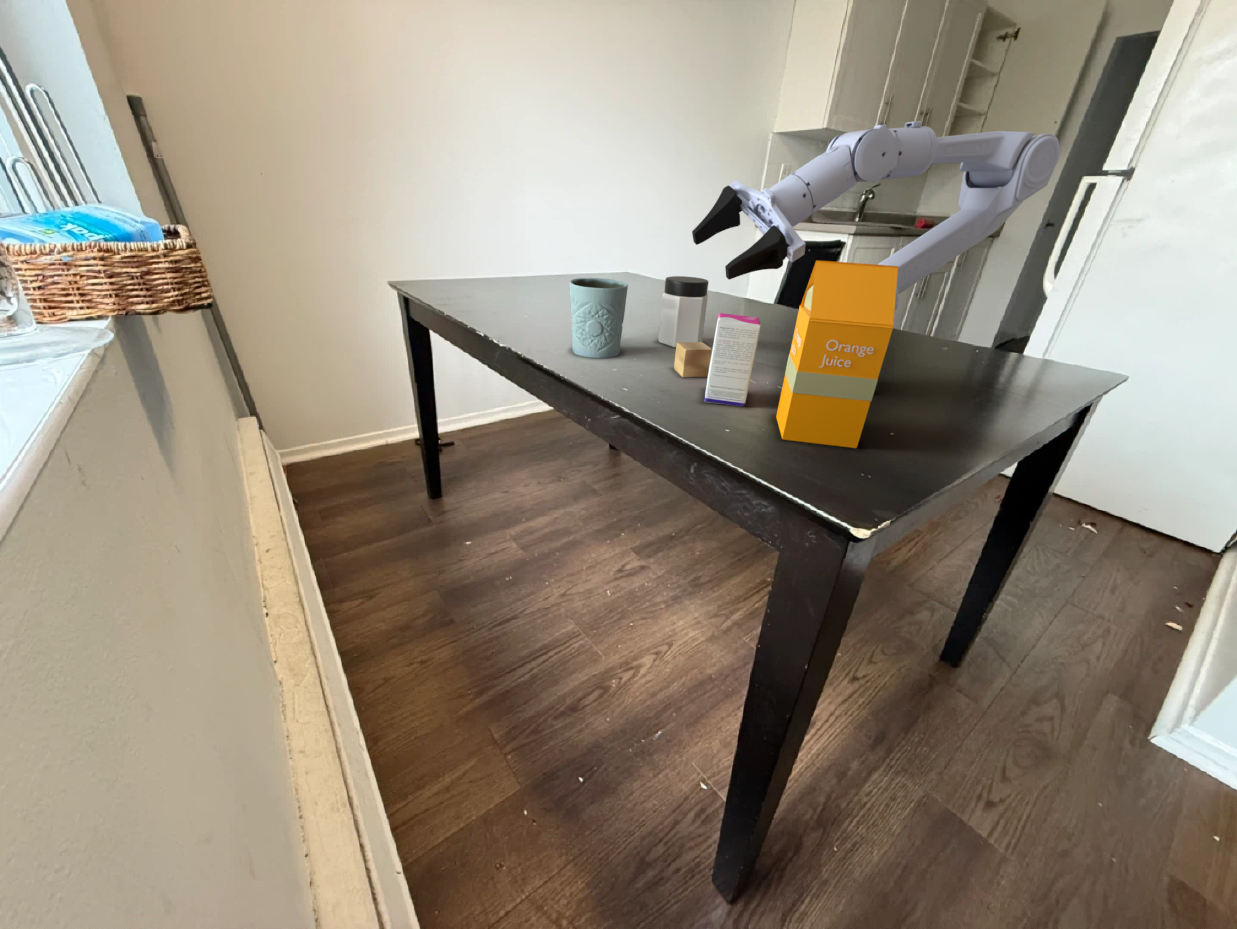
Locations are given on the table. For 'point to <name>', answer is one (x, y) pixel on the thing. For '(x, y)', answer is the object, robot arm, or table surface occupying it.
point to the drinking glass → (597, 316)
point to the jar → (683, 310)
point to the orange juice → (837, 352)
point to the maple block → (692, 359)
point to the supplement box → (732, 359)
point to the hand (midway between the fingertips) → (710, 255)
